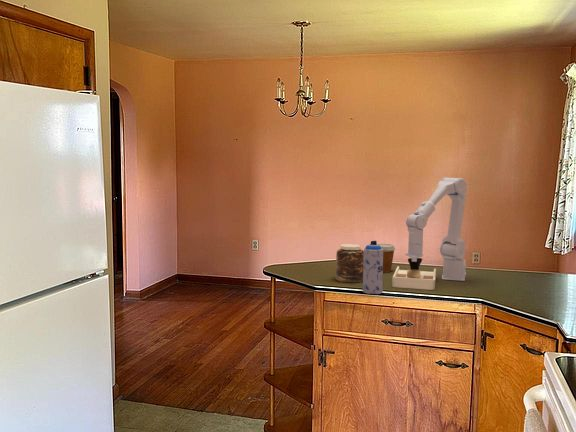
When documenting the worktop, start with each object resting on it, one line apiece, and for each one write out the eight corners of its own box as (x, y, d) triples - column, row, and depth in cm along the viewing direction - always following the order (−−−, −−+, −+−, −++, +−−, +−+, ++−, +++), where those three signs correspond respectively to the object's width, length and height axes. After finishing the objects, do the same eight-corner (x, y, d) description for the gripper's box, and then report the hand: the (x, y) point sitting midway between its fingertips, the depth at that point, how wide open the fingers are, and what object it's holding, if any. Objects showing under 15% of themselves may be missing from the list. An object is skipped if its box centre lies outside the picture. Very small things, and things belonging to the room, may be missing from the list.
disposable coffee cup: (389, 273, 241) (390, 247, 240) (370, 271, 247) (370, 245, 245) (397, 270, 249) (398, 245, 248) (379, 267, 255) (379, 243, 253)
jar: (355, 276, 236) (355, 242, 235) (368, 281, 225) (369, 246, 224) (331, 278, 232) (331, 244, 230) (344, 283, 221) (344, 248, 219)
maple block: (420, 279, 219) (420, 269, 218) (419, 281, 214) (419, 272, 213) (407, 278, 220) (407, 269, 220) (406, 281, 215) (407, 271, 215)
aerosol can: (377, 294, 203) (379, 243, 201) (359, 292, 207) (360, 241, 205) (385, 290, 209) (387, 240, 207) (367, 288, 213) (368, 238, 211)
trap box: (435, 277, 234) (435, 268, 233) (434, 290, 211) (435, 280, 211) (397, 275, 239) (397, 266, 238) (392, 287, 216) (392, 277, 215)
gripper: (406, 240, 227) (405, 271, 229) (404, 245, 213) (403, 278, 215) (423, 241, 225) (422, 272, 227) (422, 246, 211) (421, 279, 213)
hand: (414, 275), depth 221 cm, fingers closed
